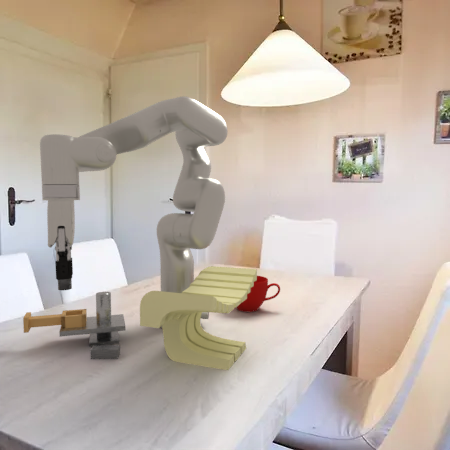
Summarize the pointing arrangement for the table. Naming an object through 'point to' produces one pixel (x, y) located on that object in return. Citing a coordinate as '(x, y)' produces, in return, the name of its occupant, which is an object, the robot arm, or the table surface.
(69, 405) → the table surface
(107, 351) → the wedge bar
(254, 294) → the ceramic cup
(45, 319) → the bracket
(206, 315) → the robot arm
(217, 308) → the slatted curved stool
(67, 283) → the pin
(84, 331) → the grey metal fixture
